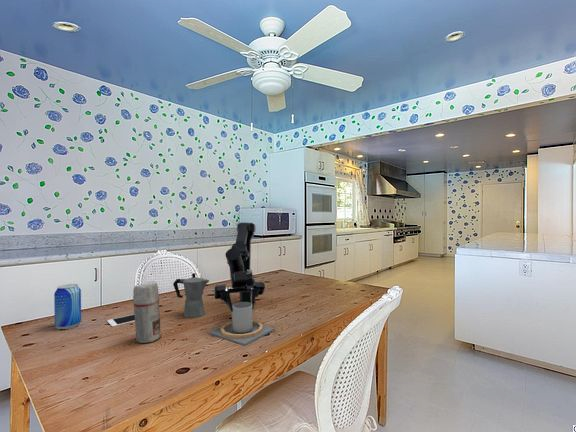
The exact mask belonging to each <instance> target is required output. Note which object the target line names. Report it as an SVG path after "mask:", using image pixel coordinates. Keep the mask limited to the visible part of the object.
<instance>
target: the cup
mask: <svg viewBox="0 0 576 432" xmlns="http://www.w3.org/2000/svg"><path fill="white" fill-rule="evenodd" d="M232 309H233V312H231V311H230V313H231V314H230V315H231V320H232V321H233V330H234V331H235V332H237V333H245V332H249V331H251V330H252V326H253V325H252V320H253V310H252V303H249V302H240V301H239V302H235V303H234V304H233V303H232Z"/></svg>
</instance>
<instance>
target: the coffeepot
mask: <svg viewBox="0 0 576 432" xmlns="http://www.w3.org/2000/svg"><path fill="white" fill-rule="evenodd" d="M208 283H210V280H209V279H208V278H207V279H205V278H203V277H196V273H195V272H194V273H191V277H190V278H176V279H175V281H173V282H172V286H173V288H174V290H175V293H176V296H177V298H179V299H182V298H183V297H184V295H185V301H184V308H183V316H184V318H186V319H187V318H188V319H193V318H194V319H195V318H199V317H202V316H204V315H205V314H206V313H205V306H204V301H203V294H204V289H205V288H206V286H207V284H208ZM179 284H181V285H182V284H183V288H184V295H181V290H179Z"/></svg>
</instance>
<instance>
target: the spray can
mask: <svg viewBox="0 0 576 432" xmlns="http://www.w3.org/2000/svg"><path fill="white" fill-rule="evenodd" d="M132 297H133V298H132V301H133V310H134V312H133V314H135V322H134V328H135V329H134V331H135V342H136V343H139V344H147V343H148V344H149V343H151V342H155V341H157V340H159V339H160V338H161V337H162V334H161V316H160V313H161V312H160V310H161V309H160V296H159V286H158V283H157V282H156V281H155V280H150V281H148V282H144V283H142V284H139V285H134V287H133V294H132Z"/></svg>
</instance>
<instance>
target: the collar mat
mask: <svg viewBox="0 0 576 432" xmlns="http://www.w3.org/2000/svg"><path fill="white" fill-rule="evenodd" d="M252 325H253V326H252V330H251V331H249V332H245V333H237V332H235V331H234V330H233V320H232V321H228V322H227V323H224V324H223V325H222V326H219V327H217V328H215V329H212V330H210V331H208V335H211V336H214V337H218V338H220V339H223V340H226V341H229V342H232V343H236V344H238V345H242V346H244V347H245V346H247V345H249V344H251V343H253V342H255V341H257V340H259V339H260V338H262V337H264V336H266V335H268V334H270V333H272V332H273V331H275V330H276V329H275V327H274V328H273V327H271V326H266V325H264V324H262V323H261V322H260V321H257V320H254V319H252Z"/></svg>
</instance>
